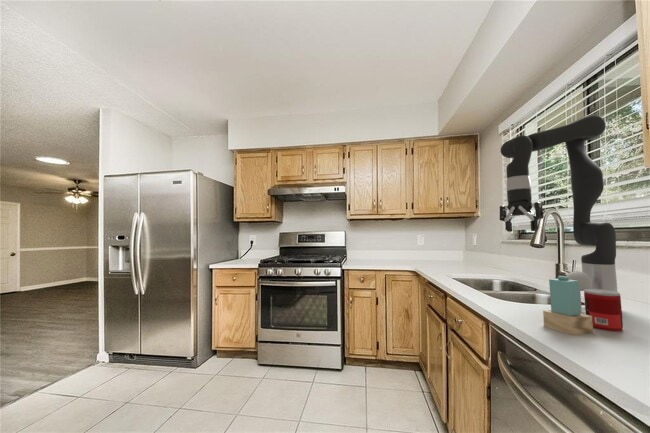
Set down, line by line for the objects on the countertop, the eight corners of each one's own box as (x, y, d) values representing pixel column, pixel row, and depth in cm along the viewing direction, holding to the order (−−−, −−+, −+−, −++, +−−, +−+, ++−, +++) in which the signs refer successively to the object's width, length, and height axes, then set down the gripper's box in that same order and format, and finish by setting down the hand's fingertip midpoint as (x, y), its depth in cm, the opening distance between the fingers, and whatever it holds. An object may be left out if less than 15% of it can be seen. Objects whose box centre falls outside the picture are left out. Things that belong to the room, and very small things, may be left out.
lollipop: (575, 309, 103) (572, 269, 104) (599, 314, 97) (595, 272, 98) (563, 310, 101) (560, 270, 102) (586, 316, 94) (583, 273, 95)
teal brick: (561, 310, 86) (559, 275, 87) (580, 314, 81) (578, 277, 82) (551, 311, 84) (548, 276, 85) (570, 315, 80) (567, 278, 81)
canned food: (631, 332, 79) (627, 294, 80) (598, 330, 81) (595, 293, 81) (609, 323, 87) (606, 289, 87) (580, 322, 88) (577, 288, 89)
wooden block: (564, 324, 87) (563, 309, 87) (593, 333, 79) (592, 316, 79) (544, 326, 85) (543, 310, 86) (571, 335, 78) (570, 318, 78)
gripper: (545, 186, 98) (548, 231, 97) (505, 192, 111) (508, 231, 110) (533, 185, 95) (536, 231, 94) (494, 191, 108) (496, 231, 107)
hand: (521, 231), depth 102 cm, fingers open, 8 cm apart
